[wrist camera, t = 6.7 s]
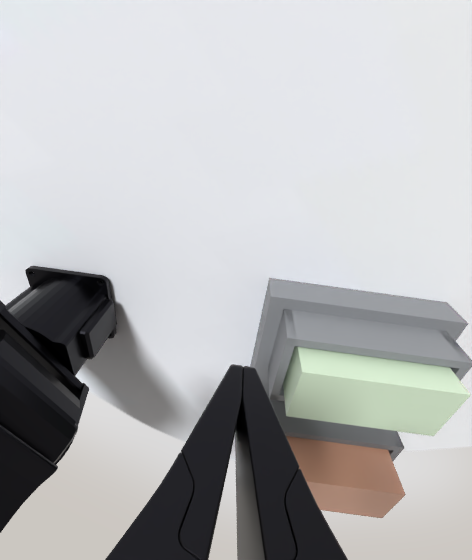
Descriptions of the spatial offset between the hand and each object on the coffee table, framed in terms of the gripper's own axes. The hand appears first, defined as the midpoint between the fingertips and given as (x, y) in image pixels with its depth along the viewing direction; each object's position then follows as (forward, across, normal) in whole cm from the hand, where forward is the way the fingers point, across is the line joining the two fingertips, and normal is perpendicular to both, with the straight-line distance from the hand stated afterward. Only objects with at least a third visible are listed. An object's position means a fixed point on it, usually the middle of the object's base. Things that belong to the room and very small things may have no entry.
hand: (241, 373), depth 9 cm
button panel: (+12, -9, +12) cm, 19 cm away
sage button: (+9, -9, +7) cm, 14 cm away
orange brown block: (+8, -9, +17) cm, 21 cm away
